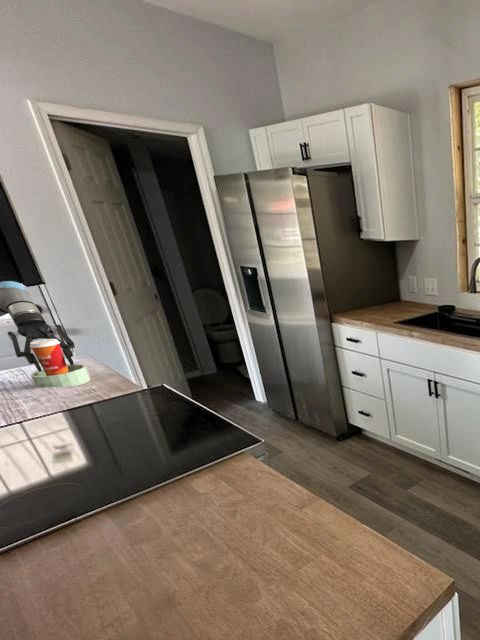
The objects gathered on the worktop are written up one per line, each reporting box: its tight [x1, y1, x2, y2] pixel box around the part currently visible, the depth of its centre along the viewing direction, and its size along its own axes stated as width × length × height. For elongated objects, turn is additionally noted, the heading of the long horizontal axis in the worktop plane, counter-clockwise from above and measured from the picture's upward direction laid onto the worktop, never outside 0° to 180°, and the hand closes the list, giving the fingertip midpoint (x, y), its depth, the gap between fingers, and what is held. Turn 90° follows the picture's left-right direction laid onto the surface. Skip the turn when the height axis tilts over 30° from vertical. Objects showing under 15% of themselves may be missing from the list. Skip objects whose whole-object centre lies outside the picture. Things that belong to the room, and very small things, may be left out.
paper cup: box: [30, 338, 69, 376], centre depth 152 cm, size 8×8×14 cm
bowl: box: [30, 363, 92, 389], centre depth 155 cm, size 14×14×6 cm
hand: (56, 366), depth 151 cm, fingers closed on paper cup, 8 cm apart
